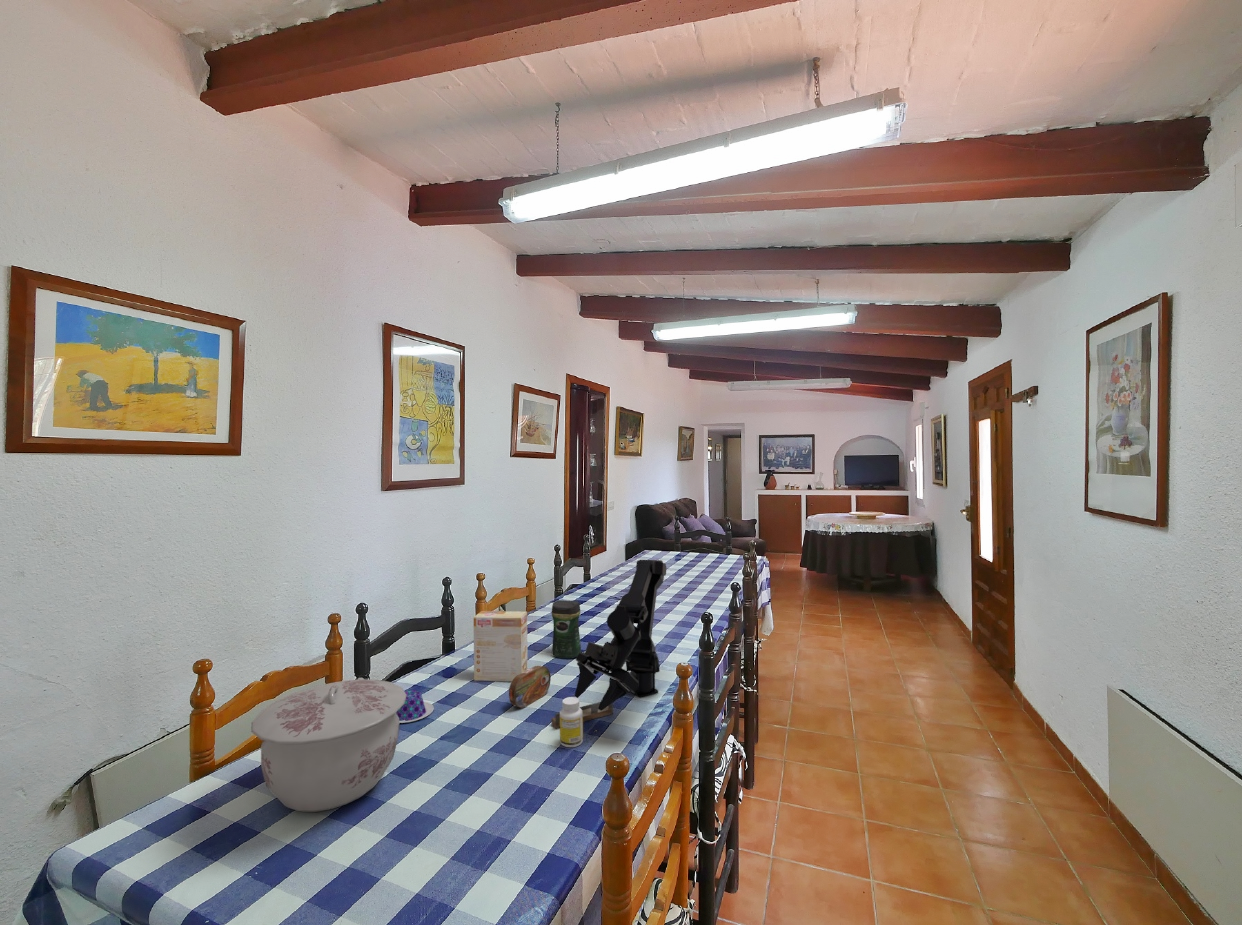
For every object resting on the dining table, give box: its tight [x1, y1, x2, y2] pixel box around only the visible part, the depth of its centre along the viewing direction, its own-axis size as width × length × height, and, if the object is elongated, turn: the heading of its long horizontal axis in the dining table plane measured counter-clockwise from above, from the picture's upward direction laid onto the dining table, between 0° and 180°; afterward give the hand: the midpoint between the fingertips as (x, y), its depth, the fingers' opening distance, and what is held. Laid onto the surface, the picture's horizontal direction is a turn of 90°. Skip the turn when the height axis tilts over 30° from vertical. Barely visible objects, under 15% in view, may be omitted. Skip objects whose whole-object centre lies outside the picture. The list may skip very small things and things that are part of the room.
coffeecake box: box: [473, 610, 529, 683], centre depth 163 cm, size 15×7×20 cm, turn 84°
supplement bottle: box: [559, 696, 584, 748], centre depth 125 cm, size 5×5×10 cm
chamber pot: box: [250, 677, 407, 813], centre depth 107 cm, size 28×28×21 cm
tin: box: [508, 665, 552, 709], centre depth 147 cm, size 15×3×8 cm, turn 149°
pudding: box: [396, 690, 435, 724], centre depth 140 cm, size 12×12×5 cm
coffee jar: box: [551, 599, 582, 659], centre depth 182 cm, size 10×8×19 cm
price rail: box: [551, 701, 614, 730], centre depth 136 cm, size 16×3×4 cm, turn 120°
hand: (587, 702), depth 128 cm, fingers open, 9 cm apart
